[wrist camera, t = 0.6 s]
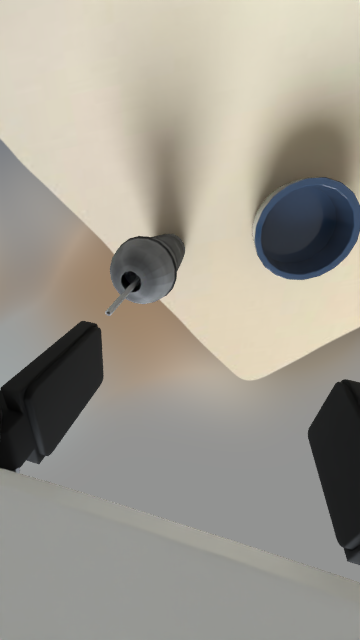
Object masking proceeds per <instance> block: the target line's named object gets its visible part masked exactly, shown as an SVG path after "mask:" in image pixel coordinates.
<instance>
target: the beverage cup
mask: <svg viewBox="0 0 360 640" xmlns="http://www.w3.org/2000/svg"><path fill="white" fill-rule="evenodd" d="M184 254H185V247H184V243H183V242H182V240H181V239H180V238H179V237H178V236H176V235H174V234H163V235H159V236H154V237H143V236H138V237H134V238H130V239H128V240H127V241H126V242H124V243H123V244H122V245H121V246H120V247H119V248H118V250H117V251H116V253H115V255H114V256H113V258H112V262H111V266H110V274H111V280H112V282H113V285H114V287H115V288H116V290H117V291H118V293H119V294H120V296H119V297H118V298H117V300H116V301H115V302H114V303H113V304H112V305H111V306H110V307H109V308H108V309H107V311H106V314H107V315H109V316H110V315H111V314H112V313H113V312H114V311H115V309H116V308H117V307H118V306H119V305H120V303H122V301H123V300H124V299H127V300H129V301H132V302H134V303H141V304H146V303H151V302H155V301H157V300H159V299H161V298H162V297H164V296H166V295H167V294H168V293H169V292H170V291H171V290H172V289H173V287H174V284H175V281H176V277H177V270H178V268H179V266H180V264H181V262H182V259H183V257H184Z"/></svg>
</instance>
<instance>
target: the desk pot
mask: <svg viewBox="0 0 360 640" xmlns="http://www.w3.org/2000/svg"><path fill="white" fill-rule="evenodd" d="M359 232H360V205H359V202H358V200H357V198H356V196H355V194H354V193H353V192H352V191H351V190H350V189H349V188H348V187H346V186H345V185H344V184H343V183H341V182H339V181H336V180H333V179H329V178H326V177H318V178H305V179H301V180H296V181H293V182H290V183H287V184H285V185H282V186H280V187H279V188H277V189H276V190H275V191H273V192H272V193H271V194H270V195H269V196H268V197H267V198H266V199H265V200H264V201H263V203H262V204H261V205H260V207H259V209H258V211H257V213H256V215H255V218H254V222H253V229H252V236H253V241H254V245H255V249H256V252H257V255H258V257H259V259H260V260H261V262H262V263H263V265H264V266H265V267H266V268H267V269H268V270H270V271H271V272H272V273H274V274H275V275H277V276H280V277H283V278H286V279H292V280H305V279H309V278H313V277H317V276H320V275H322V274H324V273H326V272H328V271H330V270H332V269H333V268H335V267H336V266H337V265H338V264H339V263H340V262H341V261H342V260H344V259H345V258H346V257H347V256H348V254H349V253H350V251H351V250H352V248H353V247H354V245H355V244H356V242H357V239H358V236H359Z"/></svg>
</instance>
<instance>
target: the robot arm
mask: <svg viewBox="0 0 360 640" xmlns="http://www.w3.org/2000/svg"><path fill="white" fill-rule="evenodd" d="M102 381H103V359H102V340H101V329H100V328H98V326H97V324H95V323H91V322H86V321H81V322H80V323H79V324H77V325H76V326H75V327H74V328H72V329H71V330H70V331H69V332H68V333H66V334H65V335H64V336H63V337H61V338H60V339H59V340H58V341H57V342H55V343H54V344H53V345H52V346H51V347H49V348H48V349H47V350H46V351H45V352H43V353H42V354H41V355H40V356H38V357H37V358H36V359H35V360H34V361H32V362H31V363H30V364H29V365H28V366H27V367H25V368H24V369H23V370H21V371H20V372H19V373H18V374H17V375H15V376H14V377H13V378H12V379H11V380H9V381H8V382H7V383H6V384H5V385H3V386H2V387H1V390H0V640H360V583H359V582H356V581H353V580H350V579H347V578H344V577H341V576H338V575H335V574H332V573H329V572H326V571H323V570H320V569H317V568H314V567H311V566H308V565H305V564H302V563H299V562H296V561H293V560H290V559H287V558H284V557H281V556H278V555H274V554H271V553H268V552H265V551H262V550H259V549H256V548H253V547H250V546H247V545H244V544H241V543H238V542H234V541H231V540H228V539H225V538H222V537H219V536H216V535H213V534H210V533H207V532H204V531H201V530H198V529H195V528H191V527H188V526H185V525H182V524H179V523H176V522H173V521H170V520H166V519H164V518H160V517H157V516H154V515H151V514H148V513H145V512H142V511H139V510H136V509H132V508H129V507H126V506H123V505H120V504H117V503H113V502H110V501H107V500H104V499H101V498H97V497H95V496H91V495H88V494H85V493H82V492H79V491H76V490H72V489H69V488H66V487H63V486H60V485H56V484H53V483H50V482H47V481H43V480H40V479H36V478H33V477H30V476H26V475H23V474H20V467H21V466H22V465H23V463H24V462H25V461H26V460H27V461H30V462H33V463H37V464H40V462H41V461H42V460H43V458H44V457H45V456H49V455H50V454H51V453H52V452H53V451H54V449H55V448H56V446H57V445H58V444H59V442H60V441H61V439H62V438H63V437H64V435H65V433H66V432H67V431H68V429H69V428H70V427H71V425H72V424H73V423H74V421H75V420H76V418H77V417H78V416H79V414H80V413H81V411H82V410H83V409H84V407H85V406H86V404H87V403H88V401H89V400H90V399H91V397H92V396H93V395H94V393H95V392H96V390H97V389H98V388H99V386H100V384H101V383H102ZM308 439H309V442H310V446H311V449H312V453H313V457H314V460H315V463H316V467H317V471H318V474H319V478H320V481H321V485H322V488H323V492H324V496H325V499H326V503H327V506H328V510H329V513H330V517H331V520H332V524H333V527H334V531H335V535H336V538H337V541H338V543H339V544H340V545H341V546H342V547H344V551H345V554H346V558H347V561H349V562H352V563H355V564H358V565H360V383H359V382H355V381H351V380H342V381H341V382H337V383H336V384H335V385H334V387H333V389H332V390H331V392H330V394H329V395H328V397H327V399H326V401H325V402H324V404H323V406H322V407H321V409H320V411H319V412H318V414H317V416H316V417H315V419H314V421H313V422H312V424H311V426H310V427H309V430H308Z"/></svg>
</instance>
